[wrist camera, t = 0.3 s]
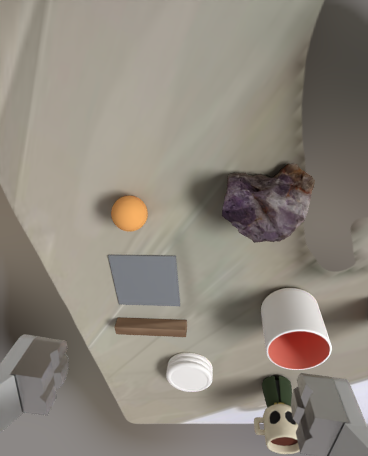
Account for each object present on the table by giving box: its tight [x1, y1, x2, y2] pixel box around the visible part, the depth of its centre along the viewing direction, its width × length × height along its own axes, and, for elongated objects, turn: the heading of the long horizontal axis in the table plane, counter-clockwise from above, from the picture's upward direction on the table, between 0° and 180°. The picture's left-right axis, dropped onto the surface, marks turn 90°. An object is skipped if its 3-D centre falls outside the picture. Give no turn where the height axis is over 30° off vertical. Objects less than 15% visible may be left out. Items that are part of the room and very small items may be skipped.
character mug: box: [254, 376, 300, 454], centre depth 68 cm, size 11×7×13 cm, turn 97°
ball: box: [111, 196, 148, 231], centre depth 50 cm, size 5×5×5 cm
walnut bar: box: [115, 318, 187, 337], centre depth 66 cm, size 2×14×2 cm, turn 93°
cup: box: [261, 288, 332, 370], centre depth 56 cm, size 10×10×10 cm
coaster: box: [166, 352, 213, 392], centre depth 72 cm, size 10×10×4 cm
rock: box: [222, 163, 315, 242], centre depth 45 cm, size 12×9×10 cm
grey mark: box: [108, 255, 180, 306], centre depth 61 cm, size 12×12×1 cm
